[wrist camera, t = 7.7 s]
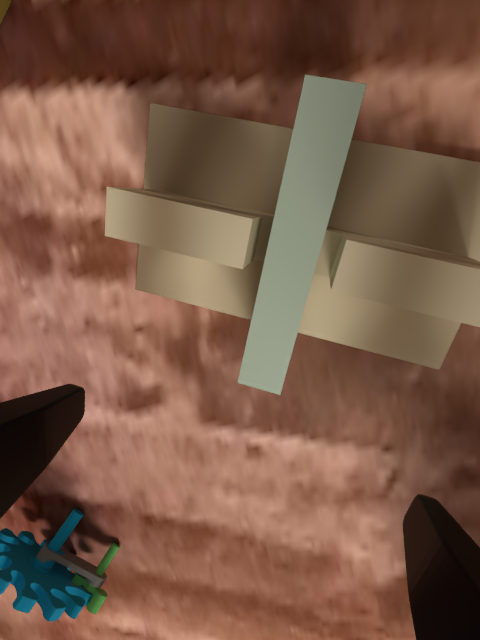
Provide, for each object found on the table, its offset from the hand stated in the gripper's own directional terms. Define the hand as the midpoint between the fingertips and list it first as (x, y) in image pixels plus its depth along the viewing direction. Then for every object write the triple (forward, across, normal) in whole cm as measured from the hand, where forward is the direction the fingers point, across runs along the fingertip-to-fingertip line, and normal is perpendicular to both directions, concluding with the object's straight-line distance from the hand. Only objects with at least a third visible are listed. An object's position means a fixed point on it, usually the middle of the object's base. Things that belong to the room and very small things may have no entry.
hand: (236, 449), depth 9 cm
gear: (+12, +14, +26) cm, 32 cm away
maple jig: (+12, 0, -4) cm, 13 cm away
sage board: (+11, 0, -4) cm, 12 cm away
